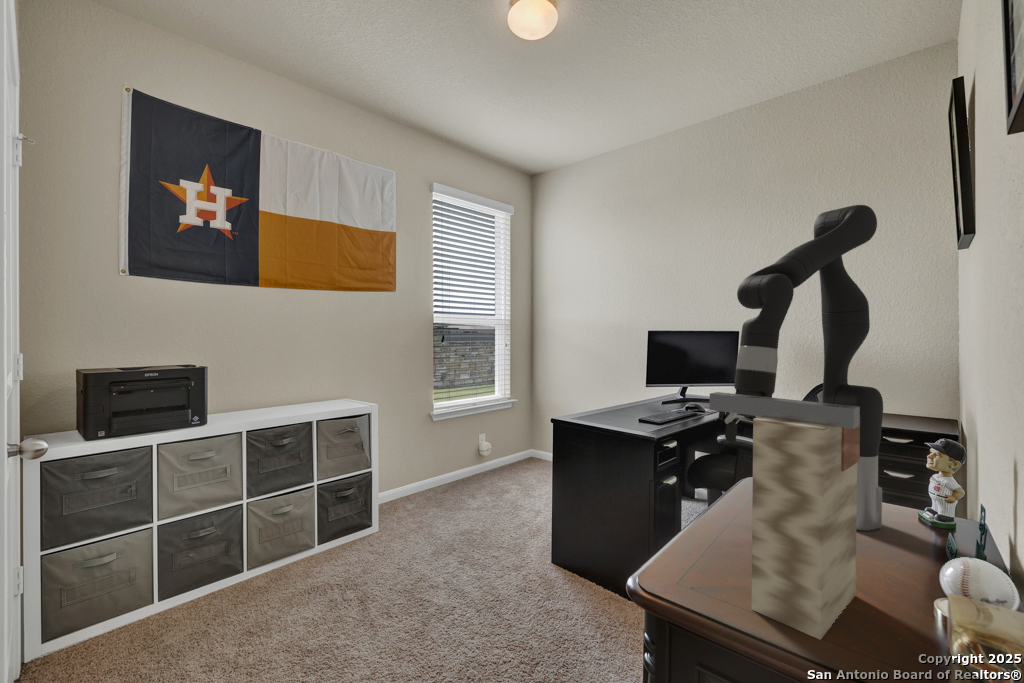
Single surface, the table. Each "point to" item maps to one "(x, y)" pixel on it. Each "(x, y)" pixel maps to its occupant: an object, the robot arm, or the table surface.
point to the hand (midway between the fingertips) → (747, 446)
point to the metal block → (787, 409)
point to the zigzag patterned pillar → (804, 522)
